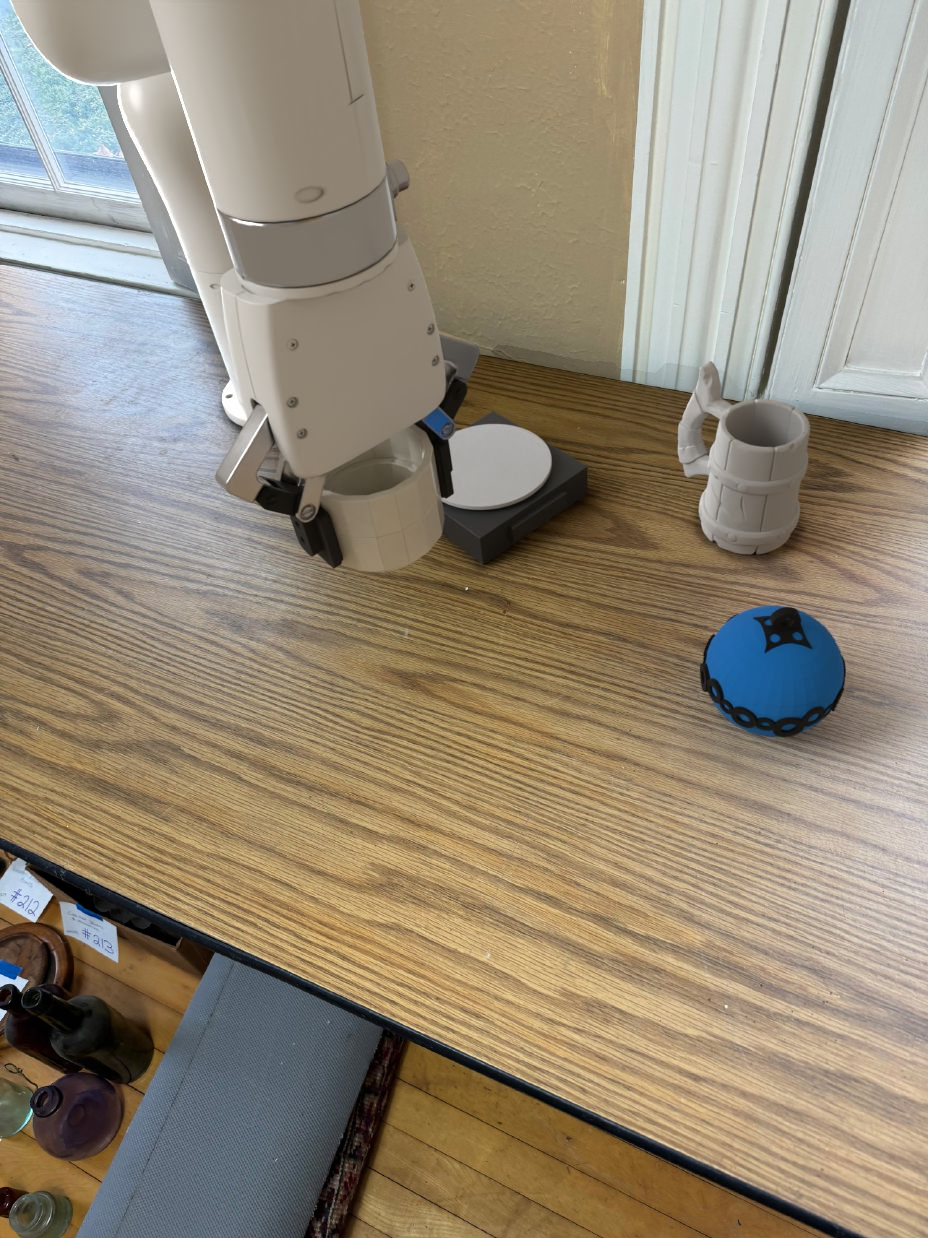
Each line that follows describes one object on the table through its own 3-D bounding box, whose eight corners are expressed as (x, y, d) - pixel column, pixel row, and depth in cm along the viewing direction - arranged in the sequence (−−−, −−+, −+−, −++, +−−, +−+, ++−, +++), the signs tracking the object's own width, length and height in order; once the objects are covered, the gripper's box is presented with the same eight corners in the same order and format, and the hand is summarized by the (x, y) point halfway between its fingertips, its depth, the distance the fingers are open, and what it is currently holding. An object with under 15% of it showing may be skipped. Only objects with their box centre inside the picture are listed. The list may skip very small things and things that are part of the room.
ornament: (808, 654, 60) (839, 552, 52) (847, 759, 54) (888, 661, 47) (684, 665, 61) (697, 565, 53) (710, 770, 55) (729, 674, 47)
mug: (747, 572, 66) (772, 446, 57) (643, 496, 73) (650, 373, 64) (817, 528, 68) (851, 400, 59) (709, 458, 75) (725, 334, 66)
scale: (395, 499, 76) (388, 466, 73) (495, 437, 80) (492, 403, 78) (487, 568, 69) (483, 534, 66) (592, 496, 73) (592, 461, 71)
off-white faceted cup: (302, 535, 53) (276, 458, 48) (397, 478, 55) (381, 400, 51) (370, 598, 49) (349, 521, 44) (469, 533, 51) (459, 454, 47)
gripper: (414, 141, 43) (454, 427, 56) (97, 276, 37) (225, 562, 50) (513, 179, 39) (531, 478, 52) (174, 338, 33) (292, 632, 46)
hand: (381, 518), depth 51 cm, fingers closed on off-white faceted cup, 7 cm apart
